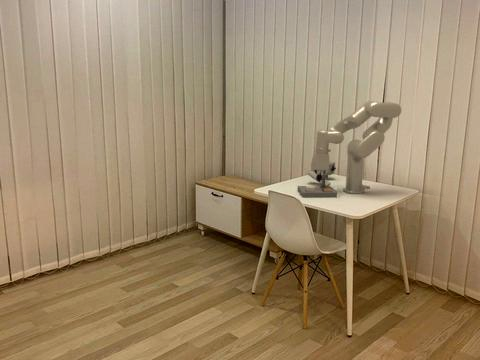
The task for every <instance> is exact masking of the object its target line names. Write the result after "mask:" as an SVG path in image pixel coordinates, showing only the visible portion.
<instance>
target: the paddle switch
mask: <svg viewBox="0 0 480 360" xmlns="http://www.w3.org/2000/svg"><path fill="white" fill-rule="evenodd" d="M318 186H320V187H321V188H327V186H326V185H325V177H324V176H322V183H321V184H319V185H318Z"/></svg>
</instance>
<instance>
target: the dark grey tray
mask: <svg viewBox="0 0 480 360" xmlns="http://www.w3.org/2000/svg"><path fill="white" fill-rule="evenodd" d="M306 186H307V185H297V192H298V193H299V195H300V196H301V198H303V199H305V198H307V199H308V198H311V199H312V198H313V199H315V198H319V199H321V198H323V199H327V198H331V199H332V198H337V197H338V193H337V191H336V190H335V189H334V188H333V187H332V186H331V185H328V186H327V188H330V189H331V192H323V191H322V188H321V187H320V186H319V185H313V186H314V188H315V190H314V192H306V191H305V189H306Z"/></svg>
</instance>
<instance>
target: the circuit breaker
mask: <svg viewBox="0 0 480 360" xmlns="http://www.w3.org/2000/svg"><path fill="white" fill-rule="evenodd" d="M335 170H337V168H336V162H333V161H329V172H325V173H324V174H323V175H322V176H324V177H325V179H326V178H327V179H328V178H329V176H331V175H334V174H335ZM320 171H321V170H319V174H320ZM327 179H326V180H327Z"/></svg>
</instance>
